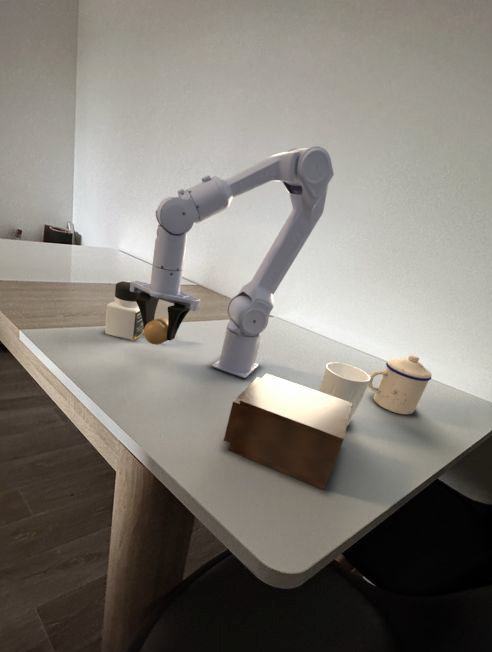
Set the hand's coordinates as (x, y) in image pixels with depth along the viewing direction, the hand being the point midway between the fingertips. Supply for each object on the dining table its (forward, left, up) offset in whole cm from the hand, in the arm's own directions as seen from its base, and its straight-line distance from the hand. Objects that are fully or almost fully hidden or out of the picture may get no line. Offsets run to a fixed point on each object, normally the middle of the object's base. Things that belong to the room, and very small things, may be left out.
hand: (159, 335), depth 79 cm
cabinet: (+13, +32, -6) cm, 35 cm away
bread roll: (0, 0, -1) cm, 1 cm away
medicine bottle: (-9, -14, -6) cm, 18 cm away
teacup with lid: (-20, +47, -6) cm, 51 cm away
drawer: (+13, +30, -5) cm, 33 cm away
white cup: (-3, +37, -6) cm, 38 cm away
